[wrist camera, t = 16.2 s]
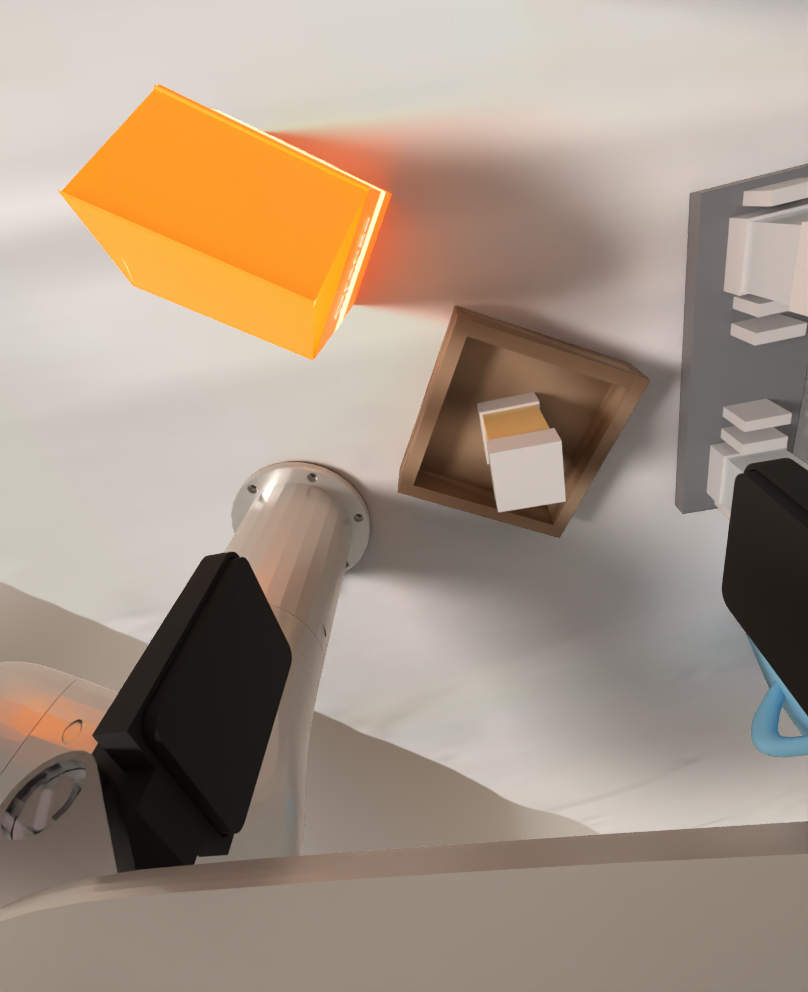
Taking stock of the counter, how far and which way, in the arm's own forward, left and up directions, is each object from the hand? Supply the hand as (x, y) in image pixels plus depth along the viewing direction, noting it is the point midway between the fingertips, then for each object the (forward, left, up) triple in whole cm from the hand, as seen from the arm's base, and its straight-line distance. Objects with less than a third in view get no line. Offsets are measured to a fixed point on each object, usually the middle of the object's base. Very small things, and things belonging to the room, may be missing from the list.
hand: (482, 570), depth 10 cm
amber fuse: (-7, -8, -29) cm, 31 cm away
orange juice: (+2, +10, -31) cm, 32 cm away
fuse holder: (+2, -22, -30) cm, 38 cm away
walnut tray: (-7, -8, -30) cm, 32 cm away
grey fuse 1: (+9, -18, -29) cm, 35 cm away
